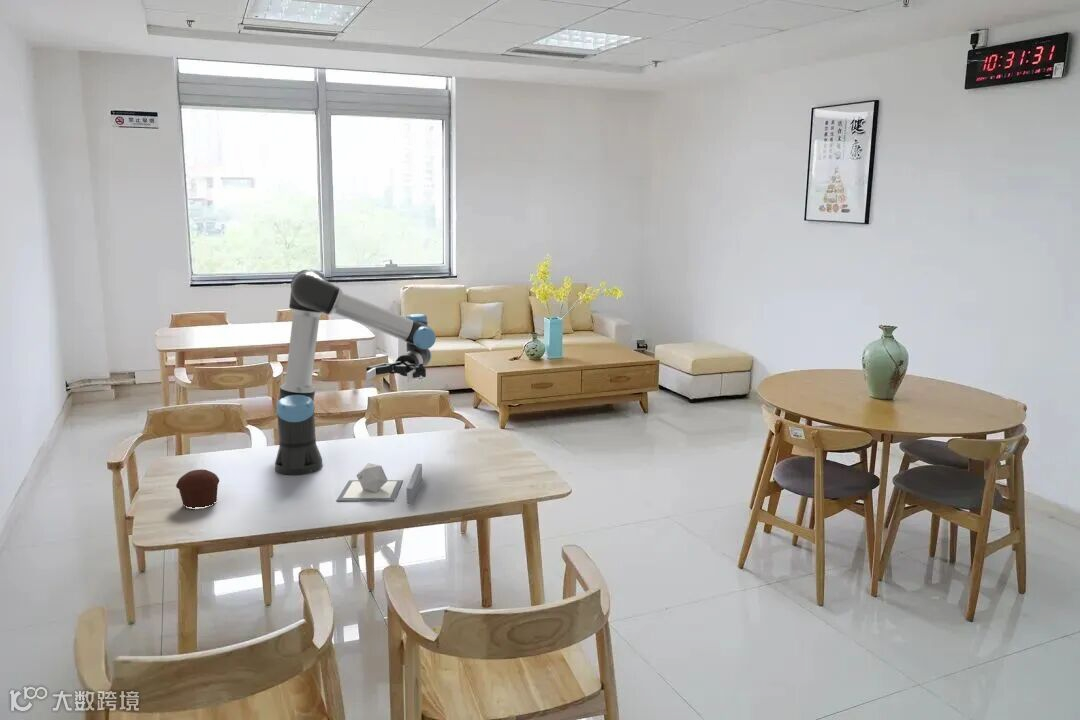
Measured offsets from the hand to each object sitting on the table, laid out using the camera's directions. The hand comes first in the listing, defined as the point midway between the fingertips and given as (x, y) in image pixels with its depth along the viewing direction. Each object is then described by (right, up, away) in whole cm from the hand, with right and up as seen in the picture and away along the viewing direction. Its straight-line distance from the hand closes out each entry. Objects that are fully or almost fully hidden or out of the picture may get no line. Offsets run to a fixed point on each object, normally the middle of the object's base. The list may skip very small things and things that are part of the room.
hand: (387, 377), depth 254 cm
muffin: (-51, -37, -21) cm, 66 cm away
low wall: (+10, -35, -10) cm, 38 cm away
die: (-3, -34, -11) cm, 36 cm away
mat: (-3, -35, -10) cm, 36 cm away
